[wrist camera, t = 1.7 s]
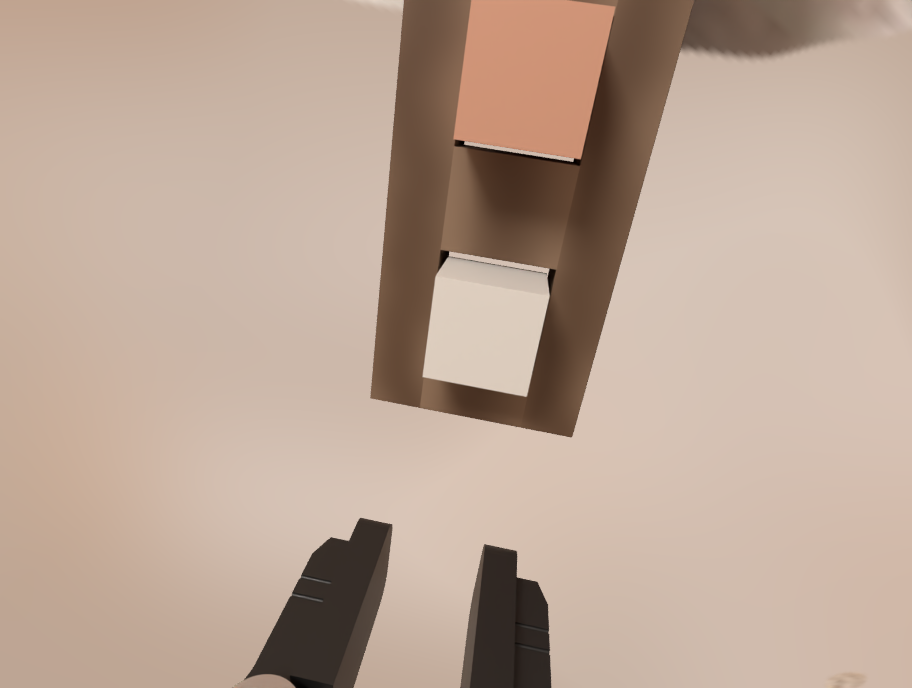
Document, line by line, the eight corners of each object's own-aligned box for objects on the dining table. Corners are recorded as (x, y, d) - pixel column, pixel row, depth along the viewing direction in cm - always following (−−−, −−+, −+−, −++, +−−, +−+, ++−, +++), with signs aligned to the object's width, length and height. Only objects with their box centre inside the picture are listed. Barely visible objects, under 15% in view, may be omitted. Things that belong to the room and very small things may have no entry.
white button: (546, 273, 26) (549, 296, 22) (527, 362, 28) (526, 396, 24) (448, 256, 26) (435, 276, 23) (436, 345, 28) (422, 376, 25)
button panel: (686, -45, 23) (716, -79, 19) (567, 403, 33) (571, 437, 29) (431, -78, 24) (414, -116, 20) (387, 369, 33) (370, 398, 30)
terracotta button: (600, 28, 22) (615, 6, 18) (572, 155, 24) (580, 159, 20) (482, 11, 22) (472, -13, 18) (464, 138, 24) (453, 139, 20)
